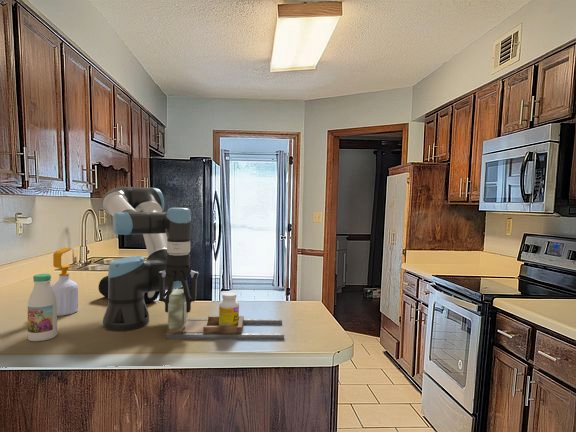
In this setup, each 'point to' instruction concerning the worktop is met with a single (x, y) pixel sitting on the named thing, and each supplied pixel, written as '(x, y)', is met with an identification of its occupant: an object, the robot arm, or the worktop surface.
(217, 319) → the wooden holder tray
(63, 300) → the soap bottle
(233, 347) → the worktop surface
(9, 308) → the worktop surface
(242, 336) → the lane rails
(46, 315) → the milk bottle
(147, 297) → the portable speaker
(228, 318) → the supplement bottle
